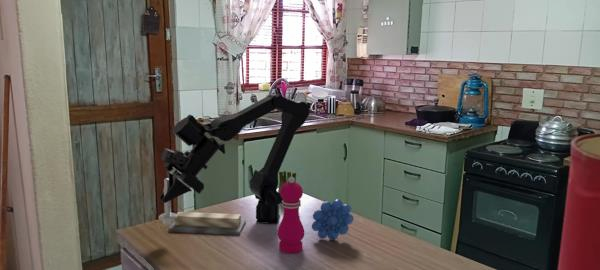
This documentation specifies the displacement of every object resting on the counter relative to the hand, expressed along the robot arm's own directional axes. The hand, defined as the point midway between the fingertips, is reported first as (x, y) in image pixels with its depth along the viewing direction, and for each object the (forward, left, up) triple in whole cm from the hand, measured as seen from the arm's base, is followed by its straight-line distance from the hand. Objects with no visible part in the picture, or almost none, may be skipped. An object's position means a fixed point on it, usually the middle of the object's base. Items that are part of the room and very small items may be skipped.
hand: (162, 200), depth 125 cm
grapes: (-46, -8, -12) cm, 48 cm away
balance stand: (-9, -12, -12) cm, 19 cm away
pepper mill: (-35, 0, -12) cm, 37 cm away
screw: (-1, -1, -7) cm, 7 cm away
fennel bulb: (-30, -35, -12) cm, 48 cm away
